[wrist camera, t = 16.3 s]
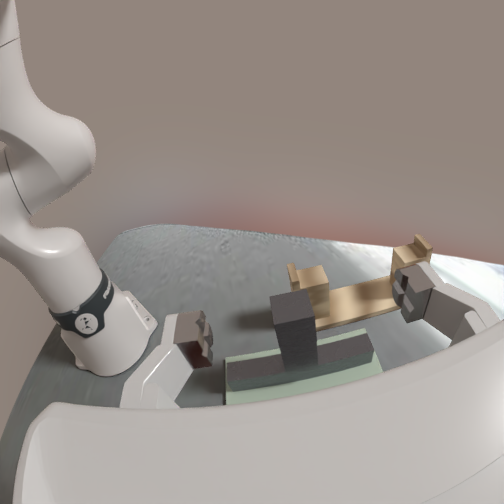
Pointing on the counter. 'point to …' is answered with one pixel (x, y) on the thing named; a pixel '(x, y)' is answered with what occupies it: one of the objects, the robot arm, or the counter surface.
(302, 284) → the stand
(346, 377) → the mat
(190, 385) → the counter surface
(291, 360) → the grey inverted t block
